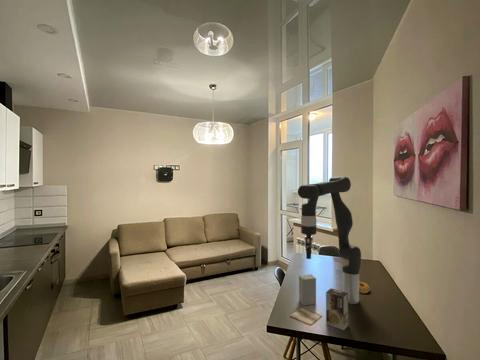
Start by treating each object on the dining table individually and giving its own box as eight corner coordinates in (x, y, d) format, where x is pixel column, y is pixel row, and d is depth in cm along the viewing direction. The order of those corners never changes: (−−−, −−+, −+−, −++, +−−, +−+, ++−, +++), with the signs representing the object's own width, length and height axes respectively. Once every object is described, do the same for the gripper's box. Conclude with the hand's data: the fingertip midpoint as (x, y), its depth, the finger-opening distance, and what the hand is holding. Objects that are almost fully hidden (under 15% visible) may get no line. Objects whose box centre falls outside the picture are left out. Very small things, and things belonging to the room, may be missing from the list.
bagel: (355, 293, 165) (356, 286, 165) (351, 286, 176) (351, 279, 176) (372, 294, 163) (372, 287, 163) (367, 287, 174) (367, 280, 174)
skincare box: (311, 299, 156) (311, 273, 156) (316, 305, 149) (317, 277, 149) (298, 300, 154) (298, 274, 154) (303, 306, 147) (303, 278, 147)
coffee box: (348, 325, 128) (348, 292, 128) (343, 330, 123) (344, 297, 123) (330, 318, 134) (330, 287, 134) (325, 323, 130) (325, 291, 130)
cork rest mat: (301, 308, 145) (301, 307, 145) (321, 316, 137) (321, 314, 137) (290, 316, 136) (290, 315, 136) (310, 325, 128) (310, 324, 128)
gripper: (301, 221, 139) (302, 251, 139) (300, 226, 125) (300, 259, 125) (316, 222, 136) (316, 252, 136) (316, 227, 123) (316, 261, 123)
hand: (308, 256), depth 131 cm, fingers open, 8 cm apart
